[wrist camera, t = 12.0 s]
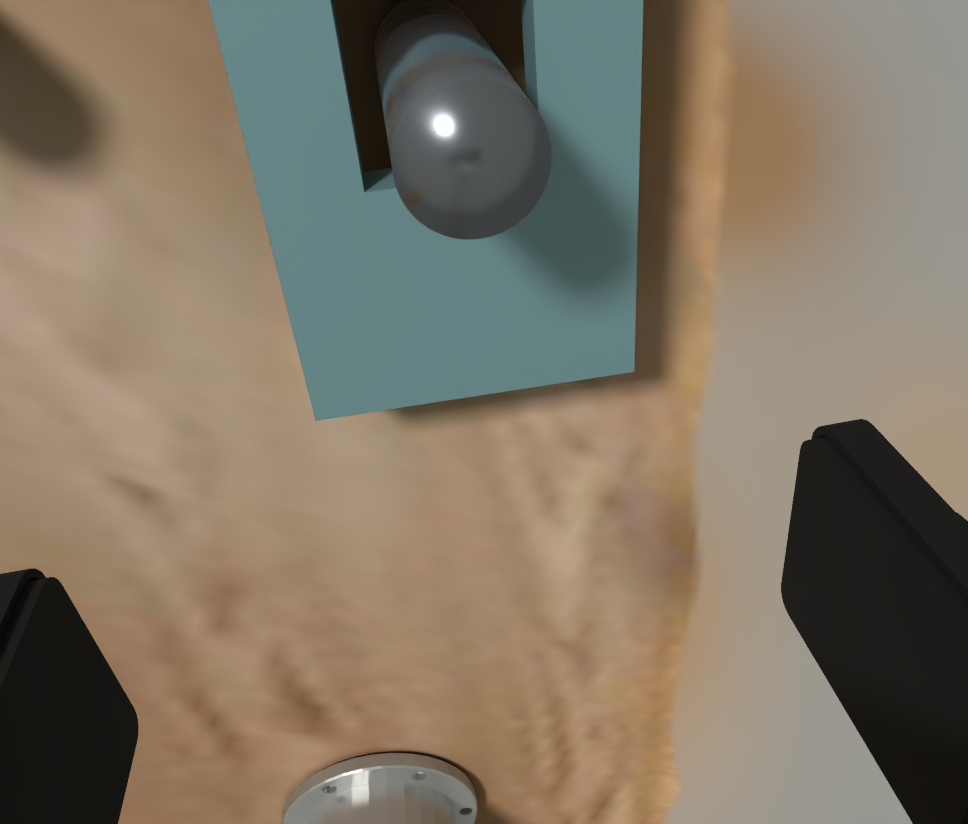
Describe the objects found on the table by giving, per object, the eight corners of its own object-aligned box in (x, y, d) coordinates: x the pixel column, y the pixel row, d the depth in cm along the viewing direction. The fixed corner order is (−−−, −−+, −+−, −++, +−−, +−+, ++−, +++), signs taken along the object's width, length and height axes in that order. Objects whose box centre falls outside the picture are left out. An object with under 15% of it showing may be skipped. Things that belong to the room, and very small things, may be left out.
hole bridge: (599, 310, 35) (634, 371, 31) (318, 352, 34) (315, 420, 30) (596, -409, 22) (654, -468, 18) (146, -370, 21) (100, -423, 17)
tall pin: (497, 69, 29) (578, 185, 19) (412, 127, 29) (448, 267, 20) (442, -29, 27) (501, 43, 17) (353, 36, 27) (358, 140, 18)
